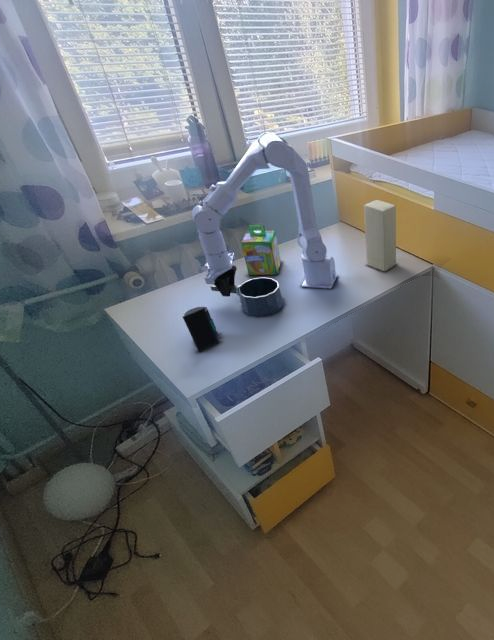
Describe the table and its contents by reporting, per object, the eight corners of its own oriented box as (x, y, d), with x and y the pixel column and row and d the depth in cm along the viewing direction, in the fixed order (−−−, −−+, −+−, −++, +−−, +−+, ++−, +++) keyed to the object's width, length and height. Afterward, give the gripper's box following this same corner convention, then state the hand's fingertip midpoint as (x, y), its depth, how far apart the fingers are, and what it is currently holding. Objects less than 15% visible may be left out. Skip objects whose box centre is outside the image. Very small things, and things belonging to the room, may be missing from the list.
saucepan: (289, 297, 129) (285, 279, 125) (272, 318, 121) (268, 299, 117) (227, 290, 131) (221, 272, 127) (207, 309, 122) (200, 291, 118)
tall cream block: (398, 263, 148) (397, 204, 135) (385, 272, 143) (383, 211, 130) (380, 257, 151) (377, 198, 138) (366, 265, 146) (362, 205, 133)
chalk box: (248, 275, 138) (236, 232, 128) (254, 262, 145) (243, 220, 135) (278, 275, 139) (268, 232, 129) (282, 261, 146) (273, 220, 136)
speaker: (222, 345, 110) (208, 310, 104) (198, 352, 108) (182, 318, 102) (218, 331, 116) (204, 298, 110) (195, 338, 114) (180, 304, 107)
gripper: (212, 237, 121) (225, 279, 130) (187, 262, 110) (203, 305, 119) (237, 239, 121) (248, 280, 130) (214, 263, 110) (228, 307, 119)
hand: (228, 293), depth 124 cm, fingers closed on saucepan, 2 cm apart
